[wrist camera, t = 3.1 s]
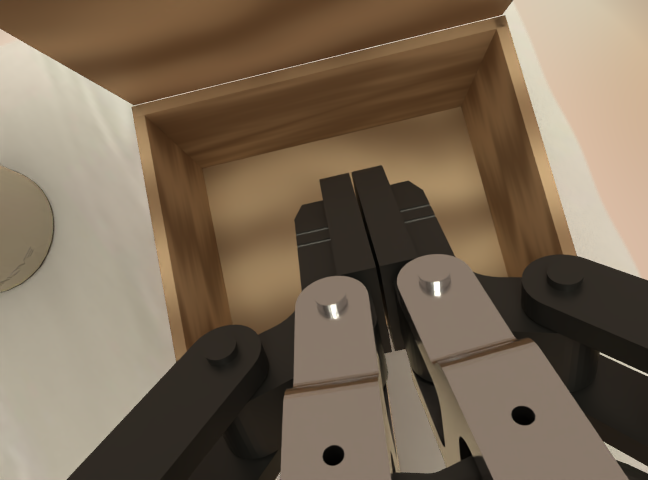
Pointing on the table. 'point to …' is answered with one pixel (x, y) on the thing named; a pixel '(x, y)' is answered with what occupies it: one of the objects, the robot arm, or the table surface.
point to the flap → (217, 35)
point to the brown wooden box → (343, 168)
